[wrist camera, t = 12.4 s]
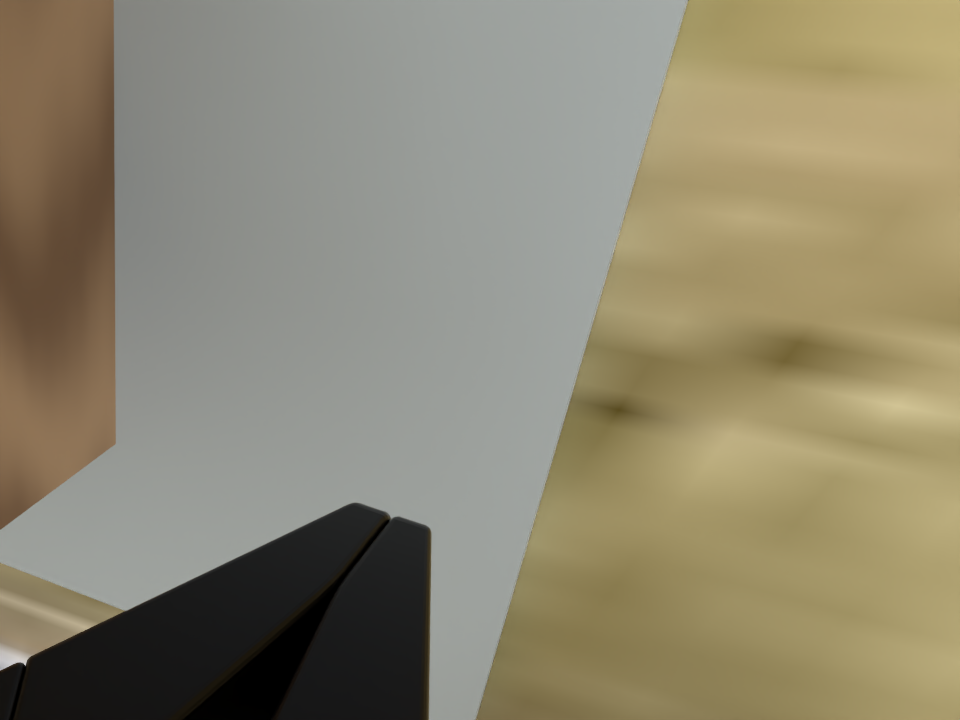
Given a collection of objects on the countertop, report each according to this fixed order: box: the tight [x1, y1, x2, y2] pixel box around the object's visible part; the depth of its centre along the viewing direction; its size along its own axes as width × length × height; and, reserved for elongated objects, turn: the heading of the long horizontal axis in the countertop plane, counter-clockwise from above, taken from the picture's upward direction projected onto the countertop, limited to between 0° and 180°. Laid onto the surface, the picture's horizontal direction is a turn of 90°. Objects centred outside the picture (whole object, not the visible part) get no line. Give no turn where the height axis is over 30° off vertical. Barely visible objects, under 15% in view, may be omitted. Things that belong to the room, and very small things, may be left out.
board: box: [0, 0, 688, 720], centre depth 16 cm, size 22×18×1 cm
